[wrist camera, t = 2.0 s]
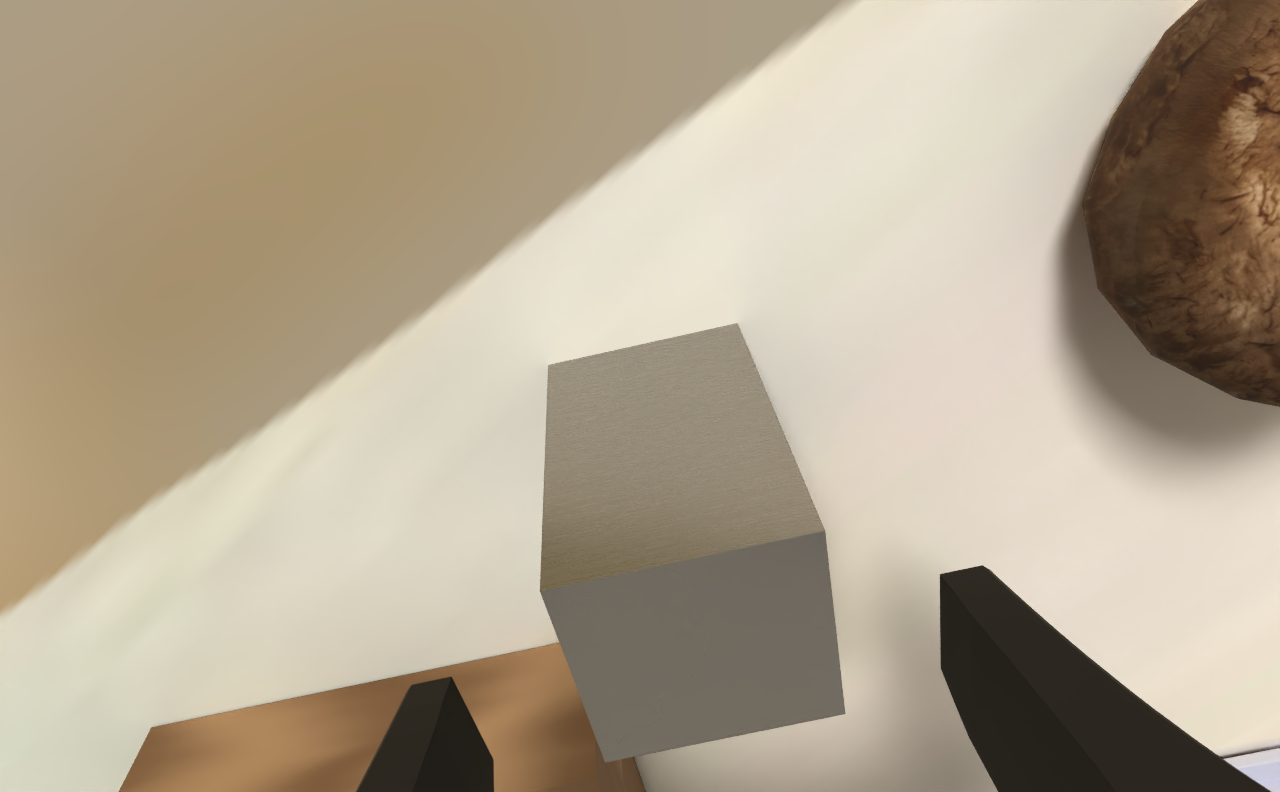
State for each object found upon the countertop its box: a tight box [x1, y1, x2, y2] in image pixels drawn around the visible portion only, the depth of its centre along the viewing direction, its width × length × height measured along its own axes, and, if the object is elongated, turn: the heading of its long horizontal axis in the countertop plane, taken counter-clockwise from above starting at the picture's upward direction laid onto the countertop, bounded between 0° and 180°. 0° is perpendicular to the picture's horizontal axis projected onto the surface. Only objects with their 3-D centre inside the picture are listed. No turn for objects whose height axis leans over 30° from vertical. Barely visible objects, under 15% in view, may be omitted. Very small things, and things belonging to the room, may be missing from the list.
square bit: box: [540, 323, 845, 762], centre depth 15 cm, size 4×4×6 cm
